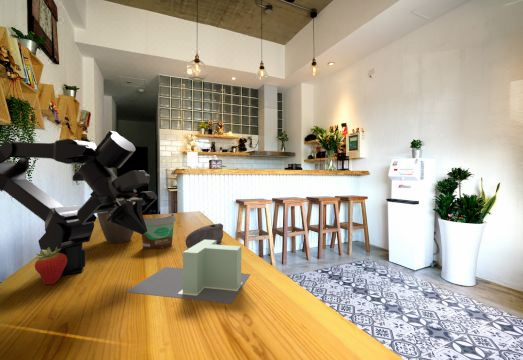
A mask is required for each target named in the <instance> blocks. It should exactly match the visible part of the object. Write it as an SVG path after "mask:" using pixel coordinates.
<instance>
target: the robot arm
mask: <svg viewBox="0 0 523 360" xmlns="http://www.w3.org/2000/svg"><path fill="white" fill-rule="evenodd" d="M135 151H136V147H135V146H134V144H133V143H132V142H131V141H129V140H128V139H126V137H124V136H121V135H120V134H119V133H118V132H117V131H112V130H109V131H108V132H107V134H106V135H105V136H104V138H103V139H102V140H101V141H100V143H99V144H98V145H97V144H96V143H95V142H92V141H85V140H81V139H73V138H63V139H59V140H55V141H54V142H51V143H50V142H49V143H48V142H24V141H23V142H22V141H14V140H9V141H4V142H3V143H1V145H0V191H2V192H5V193H7V194H8V195H9V196H11V197H12V199H14V200H16V201H17V202H18V203H20V204H21V205H22V206H24V207H25V208H26V209H27V210H29V211H30V212H31V213H33V214H34V215H35V216H37V218H39V219H41V220H42V221H43V222H44V231H45V232H44V233H43V235H42V236H41V237H40V238H39V239H38V240H37V241H38V245H39V249H40V250H41V249H42V251H47V248H48V247H49V248H50V250H51V252H54V251H55V250H56V246H57V249H60V248H61V249H60V250H59V251H58V252H56V253H62V254H64V255H66V257H67V264H66V266H65V268H64V270H63V272H62V274H61V276H65V275H71V274H77V273H82V272H83V270H84V268H85V267H86V248H85V247H83V244H84V243H88V242H90V240H91V237H92V235H93V232H94V228H95V222H96V220H97V216H96V215H95V214H97V213H103V212H109V215H110V217H109V218H108V219H107V222H112V223H115V224H118V225H120V226H123V227H126V228H128V229H130V230H133V231H134V233H137V234H139V235H141V236H142V235H143V234H146V233H147V227H146V224H145V221H144V218H145V217H144V215H143V213H144V212H146V211H147V210H148V208H149V207H150V206H151V205H152V204H154V202H155V201H157V199H158V196H157V194H156V193H155V192H154V191H153V190H152V191H150V190H149V191H140V192H139V193H138V194H137V192H138V191H137V190H138V189H140V188H141V187H143V186H148V185H149V184H150V181H151V175H150V174H148V173H147V171H145V170H144V169H143V170H130V171H128V172H125V173H124V174H121V175H120V176H117V175H116V174H115V172H114V171H113V170H111V169H120V168H121V167H122V166H123V165H124V164H125V163H126V162H127V160H128V159H129V158H130V157H131V156H132V155H133V153H134V152H135ZM10 158H14V159H15V158H16V159H18V160H17V161H16V162H15V161H8V160H9V159H10ZM31 158H33V159H37V158H38V159H50V160H54V161H55V162H59V163H63V164H66V165H79V166H80V167H79V168H78V169H74V174H73V175H72V181H73V182H85V183H86V184H87V186H88V187H89V188H90V189H91V190H92V191H91V193H90V194H89V195H90V197H89V198H88V199H87V200H86V201H85V203H84V204H82V206H80V205H78V204H76V205H67V206H64V205H63V204H61V203H60V202H58V201H57V200H56V199H54V198H52V197H51V195H49V194H47V193H46V192H44V191H43V190H42V189H40V188H39V187H38V186H37V185H35V184H34V183H32V181H29V179H27V171H28V170H29V168H30V163H29V161H30V159H31ZM132 195H137V196H136V197H135V198H132V197H131V196H132Z"/></svg>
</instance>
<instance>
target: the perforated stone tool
mask: <svg viewBox="0 0 523 360" xmlns="http://www.w3.org/2000/svg"><path fill="white" fill-rule="evenodd" d="M223 237H224V224H222V223H214V224H213V223H212V224H210V225H205V226H202V227H200V228H197V229H195V230H193V231H192V232H190V233H189V234H188V235H187V236H186V239H185V246H186V248H187V249H189V248H191V247H192V246H194V245H196V244H198V243H199V242H201V241H203V240H217V242H216V245H221V243H222V241H223V240H222V239H223Z"/></svg>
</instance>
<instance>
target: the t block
mask: <svg viewBox="0 0 523 360" xmlns="http://www.w3.org/2000/svg"><path fill="white" fill-rule="evenodd" d="M216 242H217V240H203V241H201V242H199V243H198V244H196V245H194V246H192V247H191V248H187V249H186V250H183V251H182V268H183V293H190V294H198V293H199V292H200V291H201V290H202V289H203V288H204V287H214V288H224V289H234V290H237V289H238V288H239V286H240V285H241V273H242V246H240V245H228V244H216Z"/></svg>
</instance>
